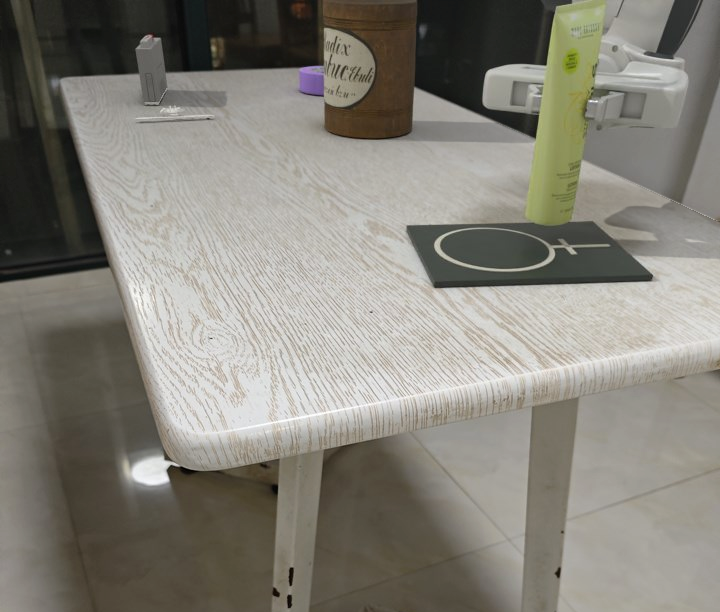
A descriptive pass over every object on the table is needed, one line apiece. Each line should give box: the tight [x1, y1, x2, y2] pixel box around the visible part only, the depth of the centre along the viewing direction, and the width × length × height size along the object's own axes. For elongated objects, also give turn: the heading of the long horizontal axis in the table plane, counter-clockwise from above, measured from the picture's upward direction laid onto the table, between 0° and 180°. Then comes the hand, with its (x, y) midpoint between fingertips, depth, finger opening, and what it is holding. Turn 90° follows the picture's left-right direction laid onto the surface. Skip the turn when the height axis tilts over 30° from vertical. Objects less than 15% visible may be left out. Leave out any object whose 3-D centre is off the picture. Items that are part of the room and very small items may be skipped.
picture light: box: [135, 105, 216, 119], centre depth 122 cm, size 14×4×2 cm, turn 108°
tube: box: [524, 0, 607, 226], centre depth 69 cm, size 6×5×20 cm
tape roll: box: [298, 65, 324, 96], centre depth 144 cm, size 12×12×4 cm
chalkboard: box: [405, 220, 654, 288], centre depth 75 cm, size 22×16×1 cm
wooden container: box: [322, 0, 418, 139], centre depth 112 cm, size 15×15×22 cm
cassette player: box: [135, 34, 168, 103], centre depth 134 cm, size 16×3×10 cm, turn 6°
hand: (563, 108), depth 68 cm, fingers closed on tube, 4 cm apart
